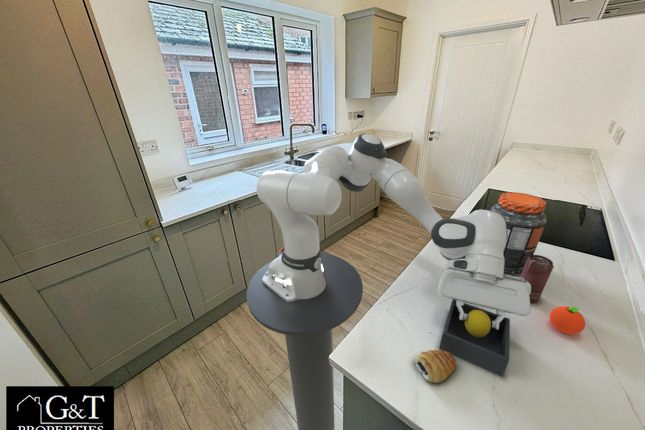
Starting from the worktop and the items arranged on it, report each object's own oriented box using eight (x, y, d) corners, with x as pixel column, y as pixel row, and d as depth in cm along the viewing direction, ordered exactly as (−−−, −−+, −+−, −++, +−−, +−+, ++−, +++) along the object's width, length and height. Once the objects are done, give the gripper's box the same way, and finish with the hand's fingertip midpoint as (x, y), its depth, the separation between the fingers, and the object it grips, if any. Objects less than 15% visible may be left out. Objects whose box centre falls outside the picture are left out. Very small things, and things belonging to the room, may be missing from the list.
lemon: (482, 327, 69) (490, 305, 66) (489, 346, 64) (498, 322, 61) (459, 324, 70) (466, 302, 67) (464, 341, 65) (472, 319, 62)
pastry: (442, 349, 66) (444, 339, 65) (463, 373, 61) (466, 363, 59) (411, 361, 64) (413, 351, 62) (430, 388, 58) (432, 378, 56)
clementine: (555, 314, 75) (565, 295, 72) (586, 331, 69) (598, 312, 66) (540, 325, 72) (549, 305, 69) (571, 344, 66) (582, 324, 63)
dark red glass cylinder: (508, 292, 83) (522, 256, 77) (523, 287, 85) (538, 252, 79) (527, 306, 78) (543, 268, 72) (543, 300, 80) (560, 263, 73)
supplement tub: (484, 246, 107) (502, 186, 95) (531, 262, 97) (557, 197, 85) (470, 263, 97) (488, 199, 86) (521, 283, 87) (548, 213, 75)
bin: (439, 348, 67) (442, 333, 64) (449, 313, 77) (452, 298, 74) (502, 376, 60) (509, 360, 57) (504, 333, 70) (510, 318, 67)
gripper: (526, 280, 67) (523, 336, 64) (440, 263, 75) (433, 312, 71) (536, 277, 62) (534, 339, 58) (443, 259, 69) (435, 312, 66)
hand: (478, 324), depth 65 cm, fingers closed on lemon, 5 cm apart
